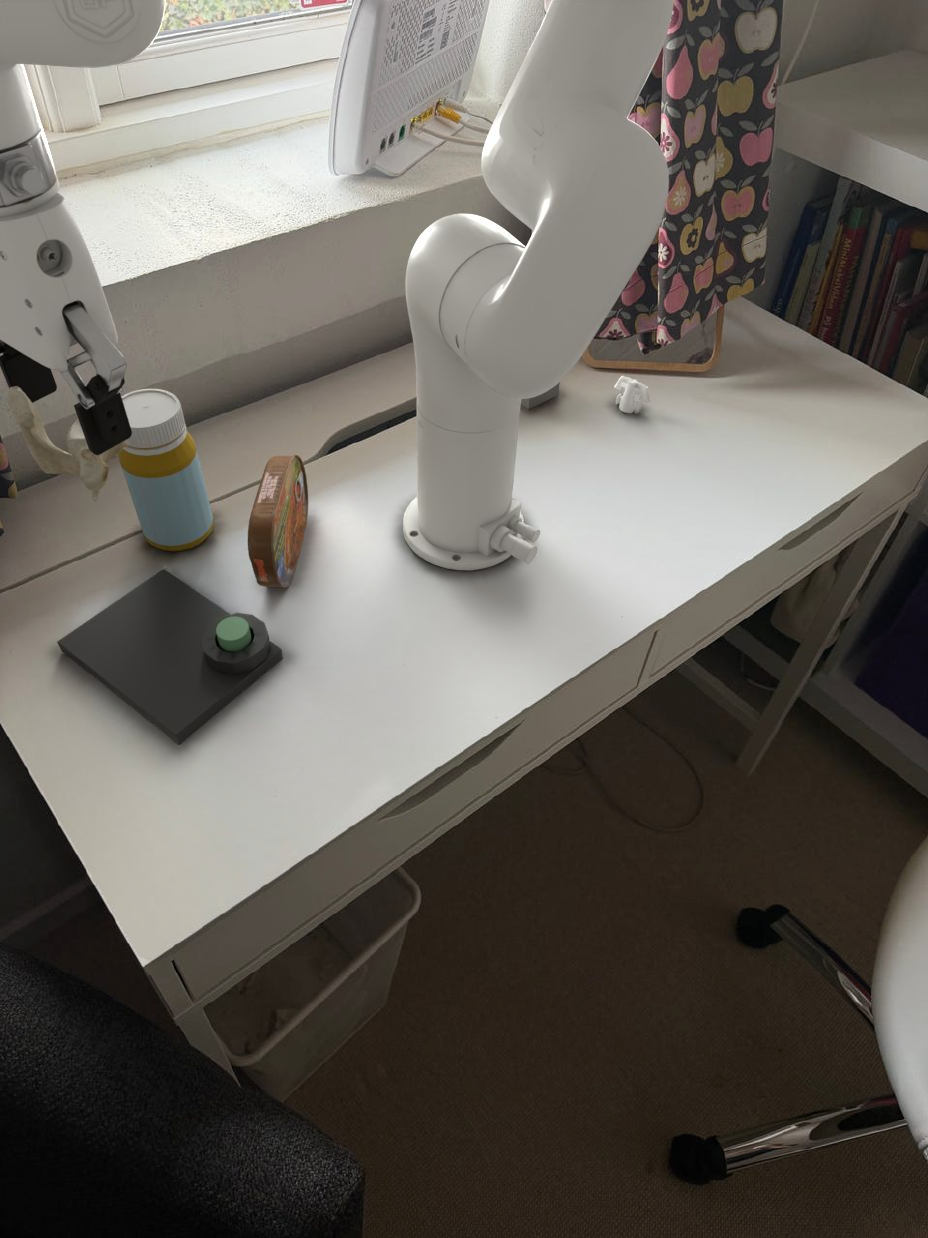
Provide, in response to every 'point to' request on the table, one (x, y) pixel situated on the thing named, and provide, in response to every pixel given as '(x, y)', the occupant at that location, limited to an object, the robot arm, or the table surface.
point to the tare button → (233, 634)
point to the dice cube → (540, 397)
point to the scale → (169, 654)
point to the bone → (55, 458)
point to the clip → (631, 394)
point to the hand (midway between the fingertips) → (73, 419)
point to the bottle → (164, 472)
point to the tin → (278, 521)
